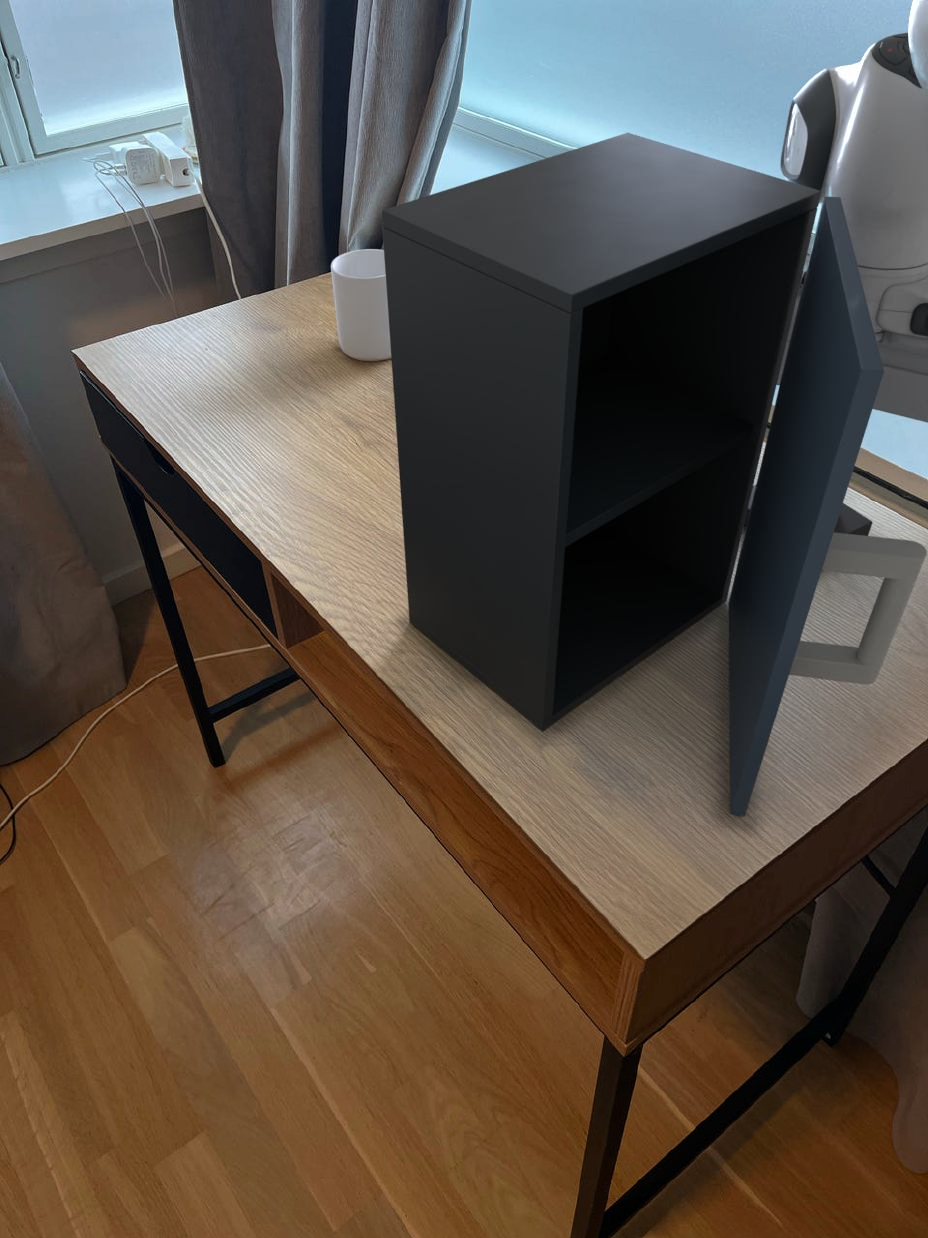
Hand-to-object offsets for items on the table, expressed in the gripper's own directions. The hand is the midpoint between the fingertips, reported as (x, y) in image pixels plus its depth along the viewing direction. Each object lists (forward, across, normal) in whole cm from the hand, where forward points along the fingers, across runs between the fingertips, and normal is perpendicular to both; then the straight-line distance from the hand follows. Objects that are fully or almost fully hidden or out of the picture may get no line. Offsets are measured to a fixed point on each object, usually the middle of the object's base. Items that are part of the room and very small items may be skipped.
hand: (822, 438), depth 83 cm
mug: (+9, -57, +10) cm, 58 cm away
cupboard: (+10, -13, -21) cm, 27 cm away
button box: (+10, 0, 0) cm, 10 cm away
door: (+10, +5, -23) cm, 25 cm away
